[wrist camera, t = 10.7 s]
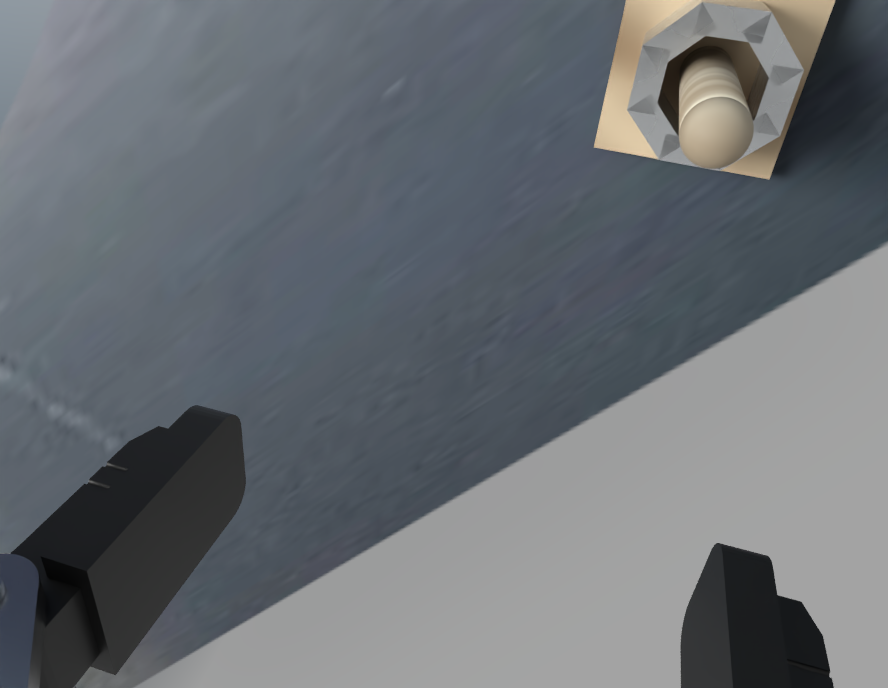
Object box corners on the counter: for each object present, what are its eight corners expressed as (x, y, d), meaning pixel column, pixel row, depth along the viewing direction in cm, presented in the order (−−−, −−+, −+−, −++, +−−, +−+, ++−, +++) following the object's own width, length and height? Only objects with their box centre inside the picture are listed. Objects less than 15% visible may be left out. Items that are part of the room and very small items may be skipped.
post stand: (637, -46, 30) (615, -24, 20) (836, -20, 28) (922, 18, 18) (595, 141, 34) (561, 236, 24) (767, 172, 33) (805, 286, 23)
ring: (656, -13, 29) (654, -5, 26) (808, 8, 28) (822, 18, 25) (622, 131, 32) (616, 152, 30) (756, 154, 31) (764, 179, 28)
